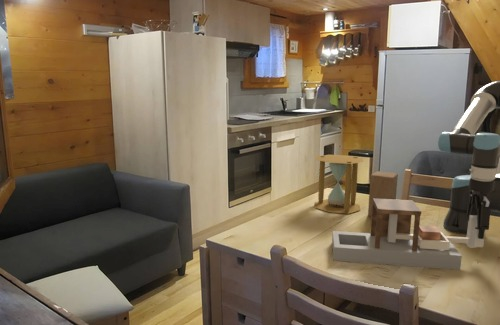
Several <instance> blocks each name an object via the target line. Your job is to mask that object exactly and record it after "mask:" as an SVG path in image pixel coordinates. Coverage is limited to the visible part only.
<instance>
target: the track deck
mask: <svg viewBox="0 0 500 325" xmlns="http://www.w3.org/2000/svg"><path fill="white" fill-rule="evenodd" d="M370 234H371V232H370V233H369V232H354V231H341V230H340V231H337V230H333V231H332V239H331V240H332V241H331V244H332V245H331V248H332V257H333V261H334V262H335V261H338V262H348V263H364V264H373V265H375V264H379V265H390V266H404V267H418V268H431V269H444V270H445V269H446V270H448V269H449V270H456V271H457V270H461V266H462V260H463V259H462V258H463V255H462V254H461V253H460V252H459V251H458V249H457V248H456V247H455V245H454V244H453V242H450V246H449V250H437V249H422V248H419V246H417V251H412V243H413V240H406V239H396V242H395V243H393V242H388V240H387V238H388V237H384V236H380V248H379V249H377V248H375V236H371V235H370Z"/></svg>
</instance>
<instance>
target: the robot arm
mask: <svg viewBox="0 0 500 325" xmlns="http://www.w3.org/2000/svg"><path fill="white" fill-rule="evenodd" d="M495 109H500V80H496V81H492V82H490V83H488V84H485V85H484V86H482V87H481V88H479V89H477V91H475V93H474V94H473V95H472V96H471V99H470V104H469V106H468V107H467V108H466V110H465V111H464V113H462V115H461V117H460V118H459V120H458V121H457V123H456V124H455V126H454V127H453V128H452V130H451V132H449V131H443V132H441V133H440V134H439V137H438V141H437V143H438V144H437V148H438V149H439V151H441V152H444V153H449V154H457V155H468V156H471V157H472V158H471V164H470V166H471V168H469V172H470V174H465V175H457V176H455V177H454V178H453V179H452V184H451V187H450V188H451V191H450V192H451V193H450V202H449V209H448V211H447V214H446V215H445V217H444V219H443V223H442V225H443V228H444V229H445V230H448V231H450V232H453V233H457V234H460V235H466V236H467V235H468V226H469V218H470V215H477V227H475V229H476V232H475V240H474V247H476V248H484V244H485V235H486V230H487V231H488V230H490V220H491V218H490V217H491V212H496V213H500V134H498V133H492V132H478V133H476V132H477V131H478V129H479V128H480V127H481V125H482V124H483V122H484V121H485V119H486V117H487V116H488V114H489V113H491V112H493V111H494V110H495Z"/></svg>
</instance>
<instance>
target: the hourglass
mask: <svg viewBox="0 0 500 325" xmlns="http://www.w3.org/2000/svg"><path fill="white" fill-rule="evenodd" d="M315 161H319V169H318V170H319V172H318V196H317V197H318V201H315V202H314V209H318V210H322V211H325V212H328V213H334V214H335V213H339V214H349V215H350V214H352V213H354V212H355V213H356V212H358V211H361V206H360V204H359V203H356V201H357V200H356V199H357V187H358V169H359V168H358V166H359V163H363V162H364V161H363V157H359V156H352V155H345V154H343V155H342V154H326V155H325V154H324V155H318V156H316V158H315ZM326 163H329V169H330V171H331V173H332V174H333V177H334V179H335V180H336V184H334V185H335V186H334V187H333V188H332V190H331V191H330V193H329V194H328V196H327V199H324V195H325V178H326V177H325V175H326V172H325V171H326ZM344 175H345V180H344V181H345V182H344V190H343V188H342V186H341V184H340V181H341V180H342V179H343V177H344Z"/></svg>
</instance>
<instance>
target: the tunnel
mask: <svg viewBox="0 0 500 325" xmlns="http://www.w3.org/2000/svg"><path fill="white" fill-rule="evenodd" d="M389 214H398V217H397V229H396V233H403V234H411V227H412V226H411V225H412V216H414V223H413V230H412V231H413V233H412V234H413V243H412V251H417V246H418V236H419V226H421V216H422V215H421V214H422V211H421V209H420V208H419V207H418V205H417V204H416V203H415V202H414V200H413V199H397V198H396V199H376V198H373V204H372V217H371V220H370V221H371V222H370V233H371V234H370V235H371V236H375V248H377V249H379V248H380V236H384V237H388V225H389Z"/></svg>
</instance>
